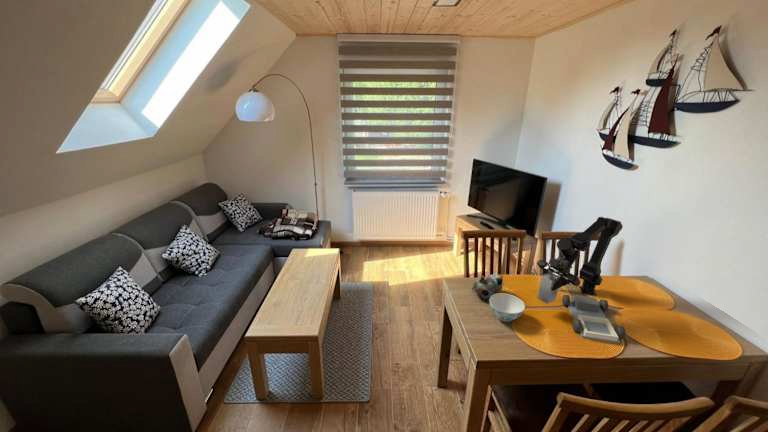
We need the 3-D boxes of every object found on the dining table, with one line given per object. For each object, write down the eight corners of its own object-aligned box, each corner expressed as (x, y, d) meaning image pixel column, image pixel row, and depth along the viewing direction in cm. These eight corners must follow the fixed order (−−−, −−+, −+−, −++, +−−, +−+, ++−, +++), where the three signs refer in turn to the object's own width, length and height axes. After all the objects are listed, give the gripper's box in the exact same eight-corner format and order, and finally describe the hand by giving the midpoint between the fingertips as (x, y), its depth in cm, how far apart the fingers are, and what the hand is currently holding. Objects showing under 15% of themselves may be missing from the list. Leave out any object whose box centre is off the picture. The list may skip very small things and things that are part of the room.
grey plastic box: (545, 294, 155) (550, 272, 150) (555, 299, 151) (560, 277, 146) (537, 298, 152) (541, 275, 148) (547, 303, 148) (551, 280, 144)
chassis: (561, 300, 162) (563, 291, 161) (602, 305, 158) (604, 296, 156) (576, 336, 138) (578, 326, 136) (625, 344, 134) (628, 334, 132)
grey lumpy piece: (475, 283, 176) (490, 263, 172) (494, 298, 171) (510, 278, 167) (467, 289, 163) (484, 268, 158) (488, 306, 158) (505, 284, 154)
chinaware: (527, 316, 150) (530, 302, 147) (514, 332, 140) (516, 318, 137) (496, 303, 160) (498, 289, 157) (481, 317, 150) (483, 303, 147)
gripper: (542, 243, 153) (523, 270, 151) (582, 260, 137) (560, 290, 136) (550, 255, 159) (531, 280, 158) (589, 272, 144) (568, 300, 143)
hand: (547, 287), depth 148 cm, fingers closed on grey plastic box, 5 cm apart
